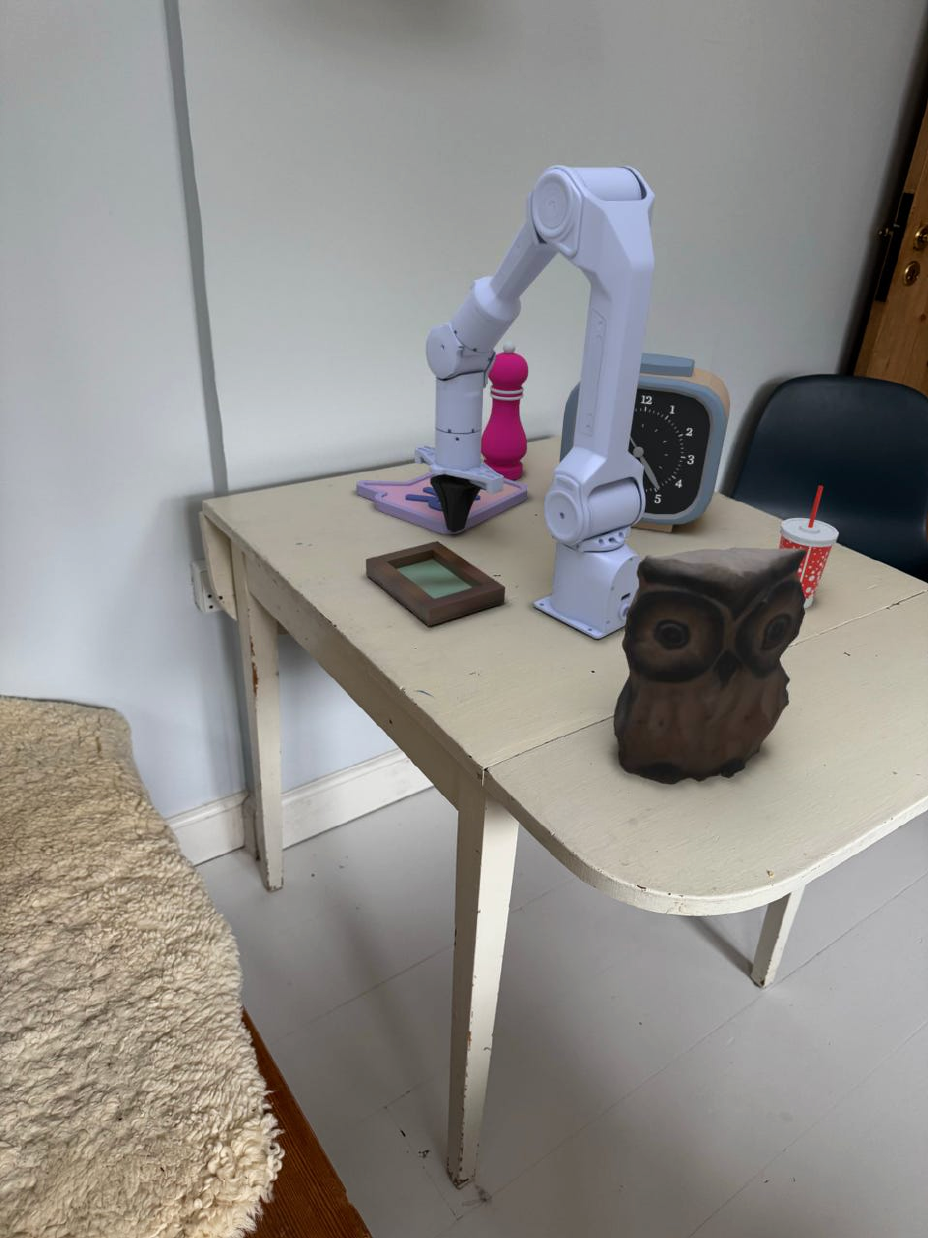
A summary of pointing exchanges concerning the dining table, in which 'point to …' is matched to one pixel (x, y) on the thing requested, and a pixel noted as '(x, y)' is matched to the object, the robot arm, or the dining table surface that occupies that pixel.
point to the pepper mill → (506, 415)
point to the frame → (435, 582)
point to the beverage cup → (809, 547)
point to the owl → (706, 660)
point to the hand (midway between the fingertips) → (455, 529)
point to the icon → (436, 501)
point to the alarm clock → (671, 437)
